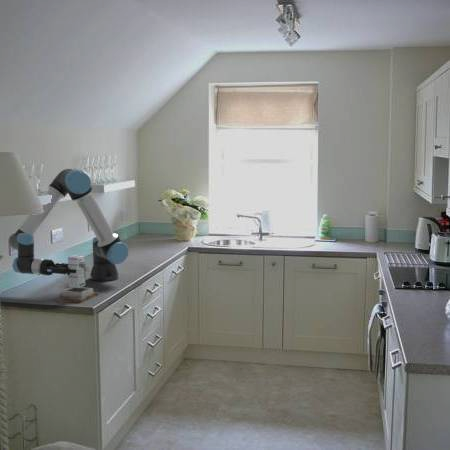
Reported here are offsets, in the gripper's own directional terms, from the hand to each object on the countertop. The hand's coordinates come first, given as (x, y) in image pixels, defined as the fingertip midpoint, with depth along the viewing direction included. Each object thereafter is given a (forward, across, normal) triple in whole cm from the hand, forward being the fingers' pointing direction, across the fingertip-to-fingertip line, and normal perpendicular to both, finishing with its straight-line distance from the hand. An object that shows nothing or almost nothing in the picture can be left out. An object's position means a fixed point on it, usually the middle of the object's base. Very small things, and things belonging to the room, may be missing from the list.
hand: (86, 270), depth 297 cm
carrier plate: (-5, 0, -14) cm, 14 cm away
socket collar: (-5, 0, -12) cm, 13 cm away
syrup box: (-5, 0, -8) cm, 10 cm away
